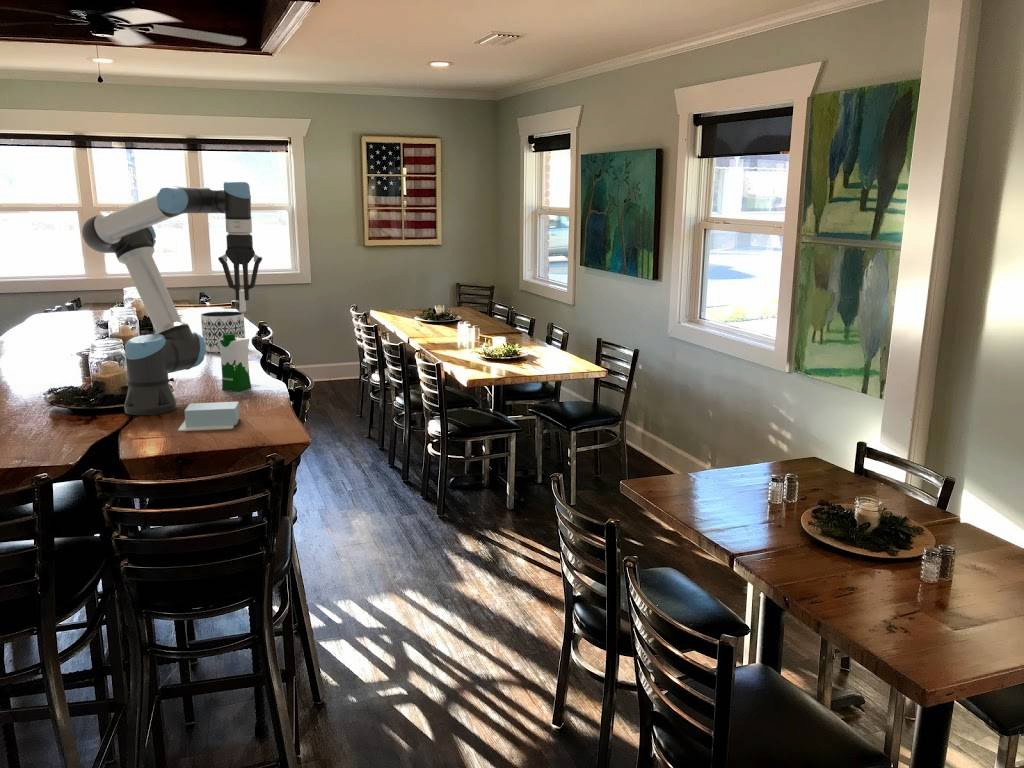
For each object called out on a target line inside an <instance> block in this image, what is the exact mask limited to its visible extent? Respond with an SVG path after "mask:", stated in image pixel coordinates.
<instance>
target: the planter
mask: <svg viewBox="0 0 1024 768" xmlns="http://www.w3.org/2000/svg"><path fill="white" fill-rule="evenodd" d="M200 320H201V337H202V338H203V340H204V342H205V346H206V353H211V352H215V353H214V354H219V353H218V352H220V348H219V345H218V341H217V340H220V339H223V334H227V333H233V334H235V337H236V338H246V330H245V329H246V328H245V316H244V312H240V311H231V310H230V311H229V310H228V311H225V310H224V311H222V310H221V311H212V312H210V311H208V312H203V313H201V314H200ZM216 352H217V353H216Z"/></svg>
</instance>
